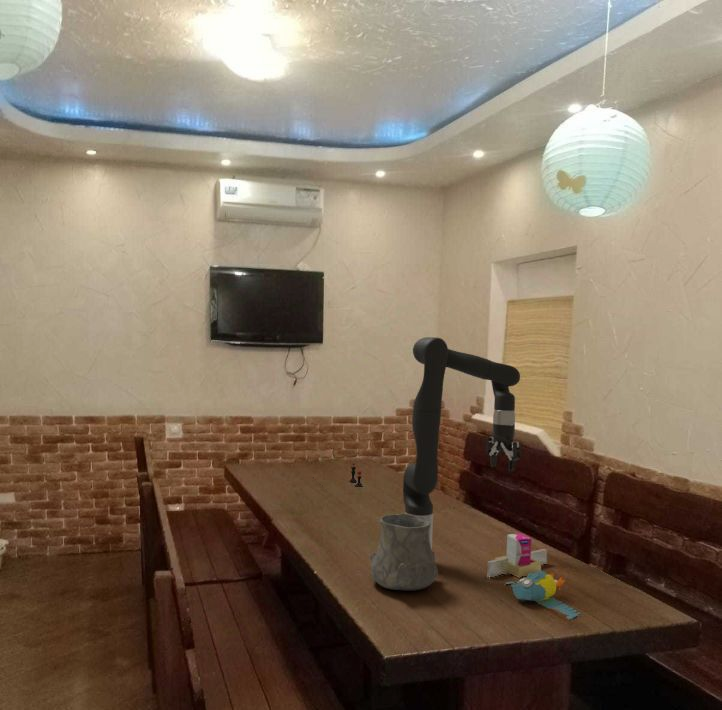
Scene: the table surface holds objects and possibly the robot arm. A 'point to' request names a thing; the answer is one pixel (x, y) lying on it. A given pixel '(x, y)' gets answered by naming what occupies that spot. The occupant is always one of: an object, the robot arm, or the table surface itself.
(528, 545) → the supplement box
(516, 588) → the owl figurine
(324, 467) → the table surface
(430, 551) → the vessel
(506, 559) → the square frame with handle
